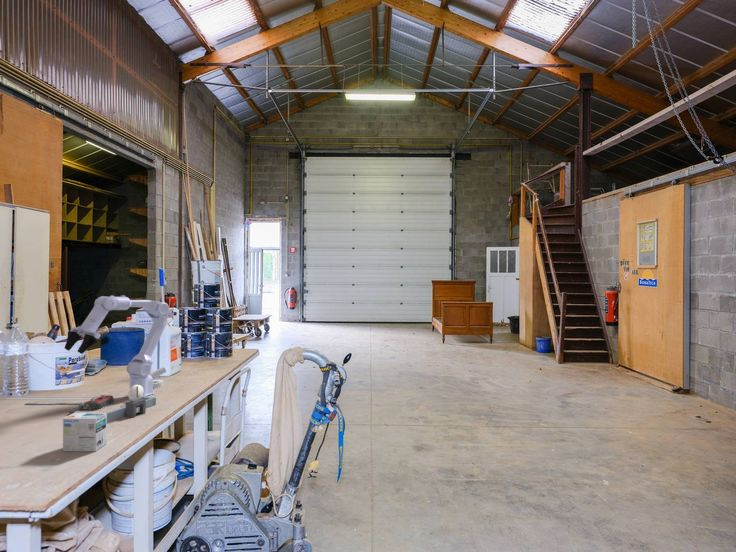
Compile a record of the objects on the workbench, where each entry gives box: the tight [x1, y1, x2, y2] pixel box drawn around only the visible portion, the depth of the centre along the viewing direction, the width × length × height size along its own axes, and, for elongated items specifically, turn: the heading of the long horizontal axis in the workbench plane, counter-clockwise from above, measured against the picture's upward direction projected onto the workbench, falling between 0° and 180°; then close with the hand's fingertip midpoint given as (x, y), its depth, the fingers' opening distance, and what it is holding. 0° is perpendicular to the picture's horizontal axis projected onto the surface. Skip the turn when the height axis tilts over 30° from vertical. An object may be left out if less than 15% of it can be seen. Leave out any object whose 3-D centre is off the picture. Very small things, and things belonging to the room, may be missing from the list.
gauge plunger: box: [119, 403, 140, 414], centre depth 184 cm, size 2×8×2 cm, turn 70°
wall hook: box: [149, 366, 167, 389], centre depth 227 cm, size 9×10×10 cm
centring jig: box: [73, 385, 157, 422], centre depth 185 cm, size 27×18×12 cm
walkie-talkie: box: [68, 394, 114, 414], centre depth 191 cm, size 9×4×20 cm
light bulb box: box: [62, 412, 108, 452], centre depth 149 cm, size 11×7×11 cm, turn 92°
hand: (73, 351), depth 184 cm, fingers open, 7 cm apart
